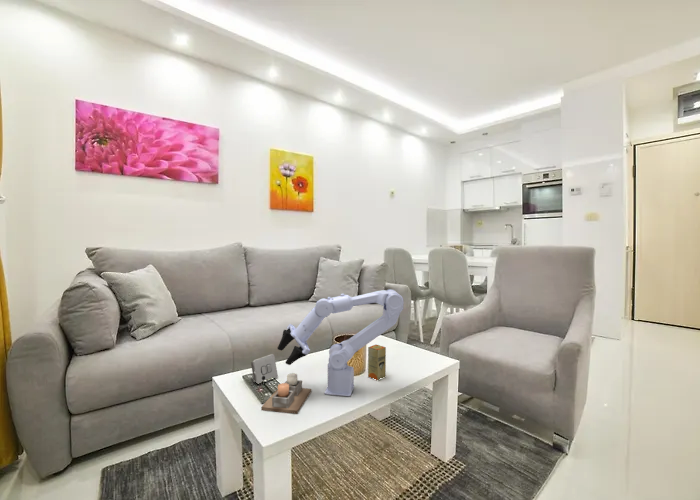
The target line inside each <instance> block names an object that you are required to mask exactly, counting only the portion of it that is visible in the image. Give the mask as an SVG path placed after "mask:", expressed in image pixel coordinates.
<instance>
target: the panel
mask: <svg viewBox="0 0 700 500" xmlns="http://www.w3.org/2000/svg"><path fill="white" fill-rule="evenodd" d="M284 383H287V380H286V381H285V382H284ZM311 393H312V388H307V387H303V381H302V380H298V379H297V385H295V386H289V395H288V396H287V397H278V390H277V389H276V390H275V391H274V392H273V393H272V394H271V396H270V397H268V399H267V400H266V401H265V402H264V403H263V404H262V406H261V408H260V409H261V411H265V412H276V413H277V412H278V413H284V414H285V413H287V414H295V415H298V413H299V412H300V410H301V409H302V407H303V406H304V405H305V402H306V401H307V399H308V398H309V397H310V394H311Z"/></svg>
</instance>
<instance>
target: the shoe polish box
mask: <svg viewBox="0 0 700 500" xmlns="http://www.w3.org/2000/svg"><path fill="white" fill-rule="evenodd" d="M386 352H387V348H386V347H385V346H384V345H379V344H373V345H371V346H368V347H367V378H369V377H371V378H370V379H372V378H374V379H376V380H375V381H377V380H379V379H380V378H383V377H385V376H386V377H387V375H386V373H387V372H386V367H387V365H386V363H387V362H386V361H387V359H386V358H387V357H386V355H387V354H386ZM386 377H385V378H386ZM374 379H373V380H374ZM383 379H384V378H383ZM379 381H380V380H379Z"/></svg>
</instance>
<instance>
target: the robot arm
mask: <svg viewBox="0 0 700 500" xmlns="http://www.w3.org/2000/svg"><path fill="white" fill-rule="evenodd" d="M404 301H405V300H404V298H403V296H402V295H401V294H399V293H398V292H397V291H396V290H395V289H391V288H390V289H387V290H386V289H385V290H384V289H382V290H377V291H372V292H368V293H364V294H359V295H355V296H350V295H349V294H345V293H340V295H337V296H333V297H332V296H327V298H320V299H318V300H317V301H316V303H315V306H314V307H313V308H312V309H311V310H310V311H309V312H308V313H307V314H306V316H305V317H303V319H302V320H301V322H300V323H299V324H298V326H294V324H292V323H289V324H288V325H287V327H286V329H283V332H282V336H281V339H280V342H279V344H278V346H277V350H278V351H284V349H285V348H287V346H288V345H289V344H290V343H291V342H292V341H293V340H295V341H296V343H297V345H298V346H296V345H294V346H293V349H292V351H291V353H290V355H289V356H288V358H287V359H286V360H285V363H284V364H286V365H288V366H291V365H293V363H295V362H296V361H297V360H299V359H301V358H303V357H307V356H308V354H309V353H310V352H311V349H310V348H309V345H308V342H307V341H308V340H309V338H310V337H311V336H312V335H313V334H314V332H315V331H316V330H317V329H318V327H319V326H320V325H321V324H322V322H323V320H324V319H326V318H328V317H329V316H330V315H331V314H337V313H344V312H347V311H348V312H349V311H351V310H352V309H353V307H356V306H361V305H369V304H378V305H381V307H382V306H383V309H382V315H381V316H380V317H378V318H377V319H376V320H374V321H373V322H371V323H370V324H368V325H367V326H366V327H364V328H363V329H362V330H361V329H360V330H359V331H358V332H357V333H355V334H354V335H352V336H351V337H350V338H348V339H345V340H343V341H341V342H338V343H334V344H333V345H331V346H330V347H329V350H328V354H329V357H328V363H327V387H326V389H325V391H324V392H323V393H324V395H328V396H329V395H331V396H339V397H340V396H341V397H351V396H352V394H353V390H354V388H355V369H354V368H355V367H353V366H351V365H350V366H349V365H348V362H349V361H350V360H351V359H352V358H353V356H354V355H355V353H356V352H358V351H359V350H361V349H362V348H364V347H366V345H368V344H370V342H372V341H373V340H375V339H376V338H378V337H379V336H381V335H382V334H383V333H385V332H386V331H388V330H389V329H391V328H392V327H394V326H395V325H396V323H397V322H398V319H399V318H400V315H401V313H402V311H403V310H404V305H405V303H404Z"/></svg>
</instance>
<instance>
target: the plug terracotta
mask: <svg viewBox="0 0 700 500" xmlns="http://www.w3.org/2000/svg"><path fill="white" fill-rule="evenodd" d="M277 389H278V397H287V396H288V395H289V384H287V383H285V382H283V383H279V384H278V385H277Z"/></svg>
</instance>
